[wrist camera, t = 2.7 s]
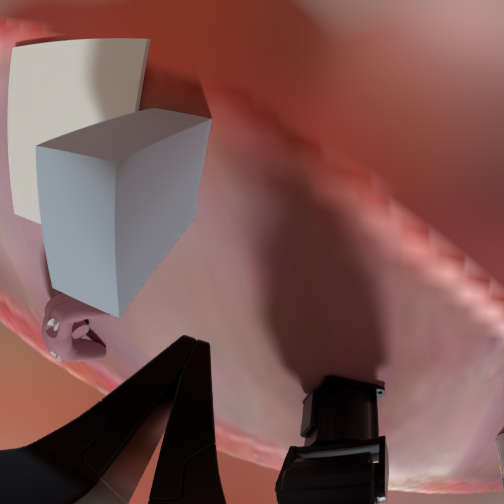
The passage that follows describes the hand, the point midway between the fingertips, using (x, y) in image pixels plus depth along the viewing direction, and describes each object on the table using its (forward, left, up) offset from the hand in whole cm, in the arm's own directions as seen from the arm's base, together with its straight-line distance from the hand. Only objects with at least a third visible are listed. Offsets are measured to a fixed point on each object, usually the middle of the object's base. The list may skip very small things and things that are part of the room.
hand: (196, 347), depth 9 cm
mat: (+16, -1, -12) cm, 20 cm away
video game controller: (+14, +18, -13) cm, 26 cm away
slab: (+6, -1, -12) cm, 14 cm away
